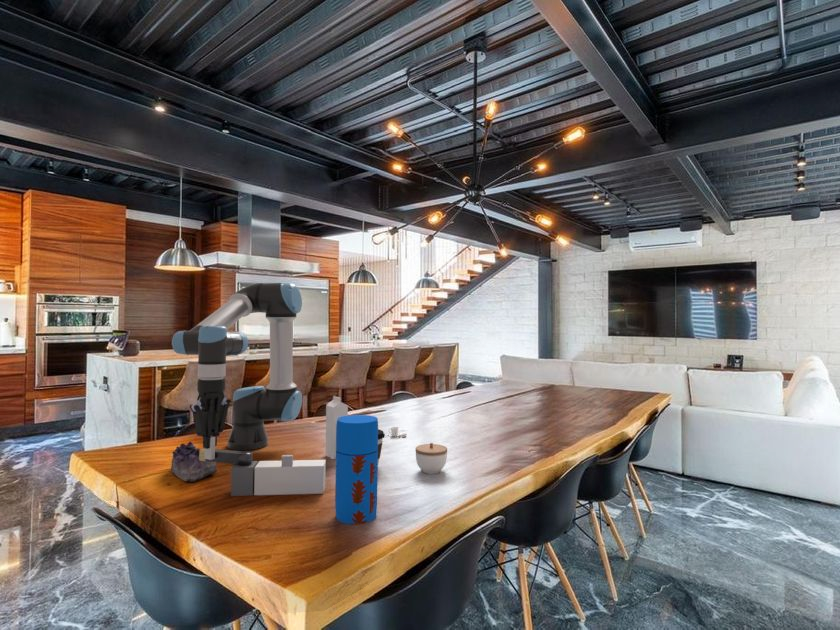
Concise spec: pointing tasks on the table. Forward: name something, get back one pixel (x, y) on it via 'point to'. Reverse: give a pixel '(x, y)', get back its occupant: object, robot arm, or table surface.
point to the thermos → (356, 468)
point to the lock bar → (229, 457)
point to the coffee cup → (380, 442)
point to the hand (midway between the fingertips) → (209, 458)
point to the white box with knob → (279, 477)
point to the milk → (333, 424)
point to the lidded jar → (431, 457)
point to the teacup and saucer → (396, 432)
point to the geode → (190, 463)
